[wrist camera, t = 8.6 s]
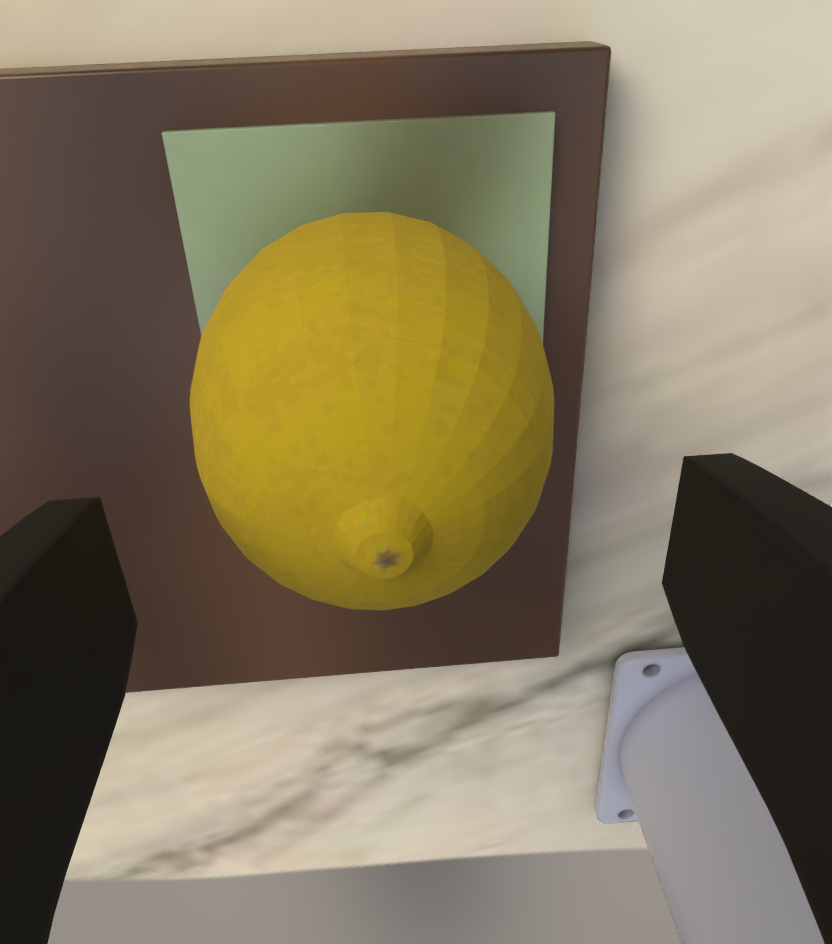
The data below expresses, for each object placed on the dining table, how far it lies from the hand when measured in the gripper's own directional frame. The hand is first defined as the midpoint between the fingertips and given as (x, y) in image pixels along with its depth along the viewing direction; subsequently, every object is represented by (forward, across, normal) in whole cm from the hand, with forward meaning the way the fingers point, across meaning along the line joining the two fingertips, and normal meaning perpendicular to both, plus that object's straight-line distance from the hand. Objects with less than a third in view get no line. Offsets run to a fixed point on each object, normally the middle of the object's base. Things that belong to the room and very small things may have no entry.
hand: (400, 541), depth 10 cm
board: (+9, +6, +3) cm, 11 cm away
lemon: (+7, 0, 0) cm, 7 cm away
